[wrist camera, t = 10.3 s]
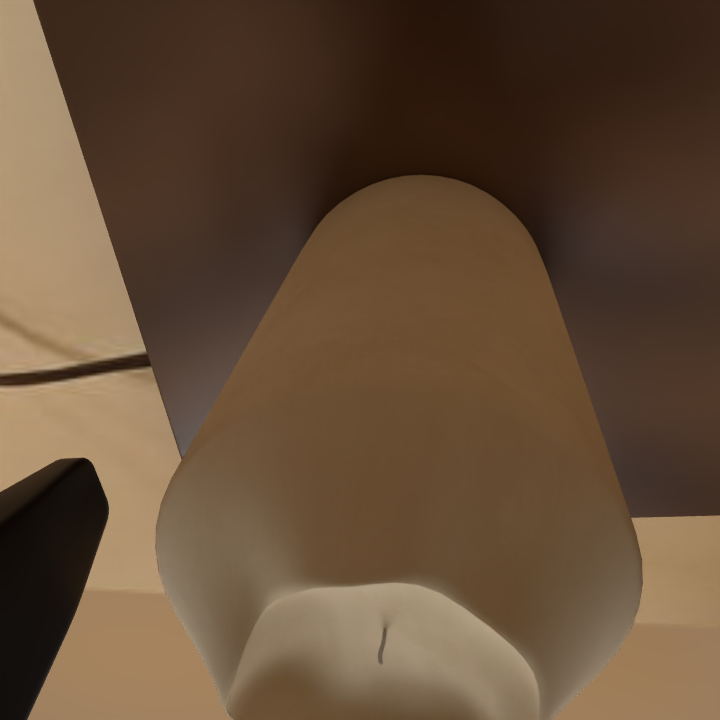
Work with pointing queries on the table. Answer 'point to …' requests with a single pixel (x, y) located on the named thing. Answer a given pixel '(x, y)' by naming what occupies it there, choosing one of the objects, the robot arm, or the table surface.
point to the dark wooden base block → (420, 157)
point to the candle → (403, 482)
